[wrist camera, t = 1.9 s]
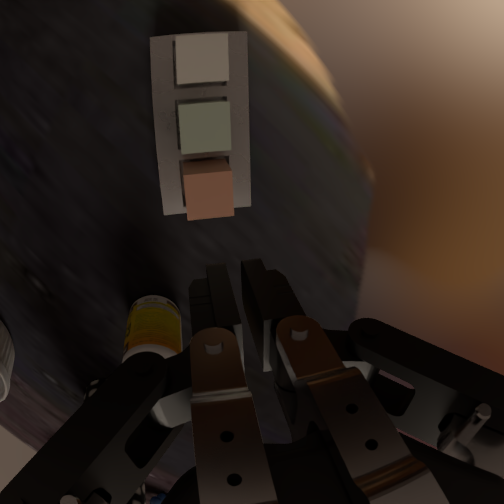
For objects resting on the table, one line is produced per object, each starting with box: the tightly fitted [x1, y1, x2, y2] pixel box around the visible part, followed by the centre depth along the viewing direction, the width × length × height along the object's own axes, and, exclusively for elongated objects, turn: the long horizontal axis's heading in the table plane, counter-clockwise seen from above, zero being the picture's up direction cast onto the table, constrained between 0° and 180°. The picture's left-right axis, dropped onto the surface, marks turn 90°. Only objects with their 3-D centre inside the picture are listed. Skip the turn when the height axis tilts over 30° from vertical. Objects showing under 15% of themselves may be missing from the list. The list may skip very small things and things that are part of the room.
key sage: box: [178, 100, 231, 154], centre depth 21 cm, size 3×3×4 cm
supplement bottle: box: [122, 295, 183, 363], centre depth 28 cm, size 6×6×10 cm
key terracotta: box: [183, 159, 234, 221], centre depth 23 cm, size 3×3×4 cm
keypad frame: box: [150, 31, 251, 215], centre depth 23 cm, size 7×14×3 cm, turn 1°
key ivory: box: [176, 33, 229, 85], centre depth 19 cm, size 3×3×4 cm
